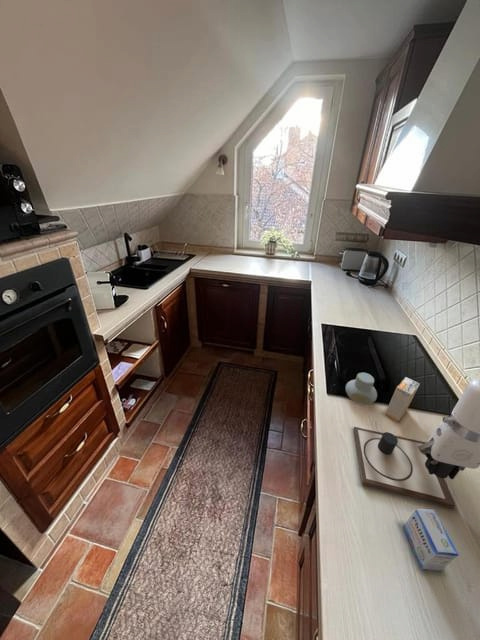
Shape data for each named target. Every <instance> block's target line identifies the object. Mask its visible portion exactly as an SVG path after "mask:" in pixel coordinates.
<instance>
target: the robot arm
mask: <svg viewBox="0 0 480 640" xmlns="http://www.w3.org/2000/svg"><path fill="white" fill-rule="evenodd" d="M426 442H427V443H425V444H422V445H420V446H418V448H419V451H420V452H421V453H422V454H424V455H426V457H427V458H428V459H427V460H426V462H425V466H426V468H427V469H428V472H429V474H431V475H432V474H433V473H434V472H435V470H436V469H437V467H438V465H437V463H438V462H439V461H440V462H444V463H448V464H452V465H455V467H454V468H453V470H452V471H451V472H450V474H449V475H448V478H449V479H450V480H454V479H455V478H456V476H457V475H458V474H459V472H460V471H464V470H465V469H466V468H467V469H478V468H479V467H480V377H476V378H473V379H472V380H470V381H469V383H468V384H467V385H466V387H465V389H464V390H463V392H462V394H461V396H460V397H459V399H458V401H457V402H456V404H455V405H454V407H453V409H452V410H451V412H450V414H449V416H443V417H442V421H441V423H439V424H438V425H437V426H436V427H435V429H434V430H433V431H432V433H431V434H430V435H429V437H428V439H427V441H426ZM429 450H430V451H429Z"/></svg>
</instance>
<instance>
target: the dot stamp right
mask: <svg viewBox="0 0 480 640" xmlns="http://www.w3.org/2000/svg"><path fill="white" fill-rule="evenodd" d="M437 465H438V467H437V469H436V470H435V472H434V473H433V474H434V475H436V476H437V477H439V478H444V479H447V478H449V476H448V475H449V474H450V472H451V471H452V470H453V468H454V467H455V465H452V464H448V463H444V462H440V461H439V462H438V463H437Z"/></svg>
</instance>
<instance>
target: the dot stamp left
mask: <svg viewBox="0 0 480 640" xmlns="http://www.w3.org/2000/svg"><path fill="white" fill-rule="evenodd" d="M382 433H383V435H382V437H381V439H380V441H379V443H378V448H379V450H380V451H381V452H382V453H384V454H386V455H390V454H392V452H393V450H394V448H395V446H396V444H397V443H398V440H397V438H396V436H397V435H395V434H393V433H391V432H388V431H385V432H382Z"/></svg>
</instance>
